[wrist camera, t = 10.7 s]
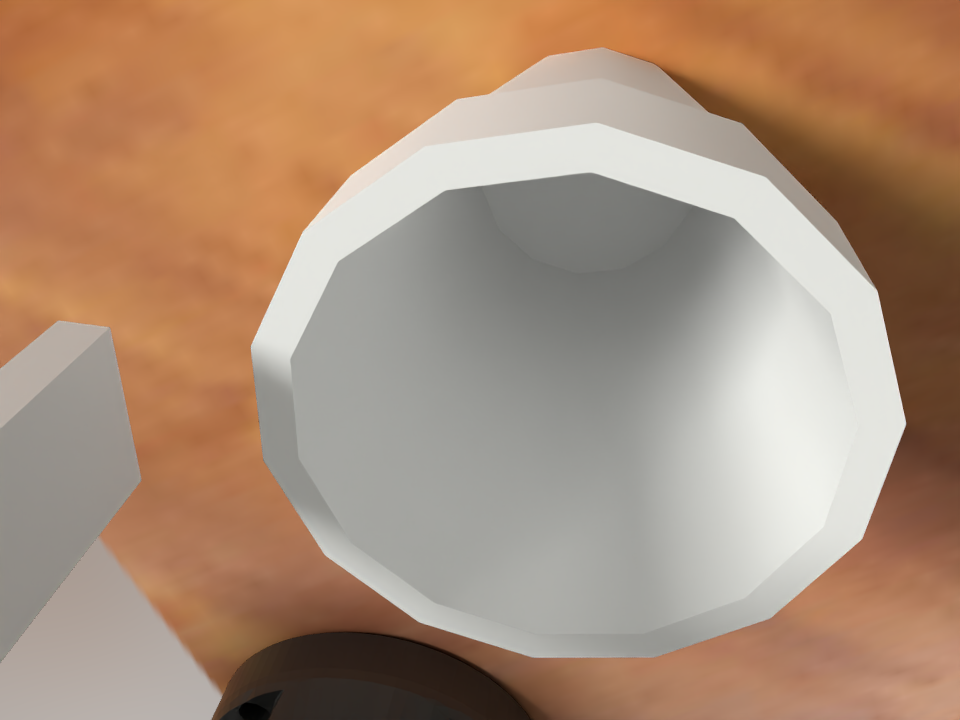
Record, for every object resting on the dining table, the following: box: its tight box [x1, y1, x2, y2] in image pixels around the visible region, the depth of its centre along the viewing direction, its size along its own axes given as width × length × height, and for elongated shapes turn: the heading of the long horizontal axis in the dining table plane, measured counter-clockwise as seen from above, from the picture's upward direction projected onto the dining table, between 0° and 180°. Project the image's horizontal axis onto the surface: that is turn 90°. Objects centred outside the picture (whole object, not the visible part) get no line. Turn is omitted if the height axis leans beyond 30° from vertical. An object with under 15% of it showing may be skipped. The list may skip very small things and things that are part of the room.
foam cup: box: [251, 47, 906, 658], centre depth 18 cm, size 10×9×13 cm
